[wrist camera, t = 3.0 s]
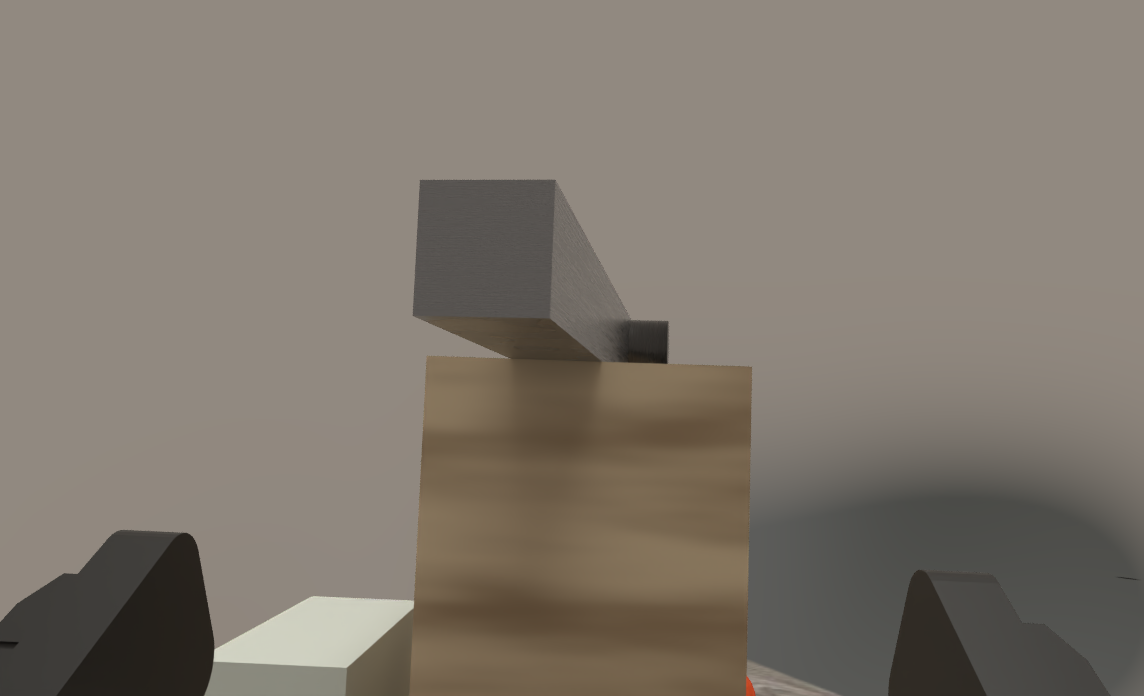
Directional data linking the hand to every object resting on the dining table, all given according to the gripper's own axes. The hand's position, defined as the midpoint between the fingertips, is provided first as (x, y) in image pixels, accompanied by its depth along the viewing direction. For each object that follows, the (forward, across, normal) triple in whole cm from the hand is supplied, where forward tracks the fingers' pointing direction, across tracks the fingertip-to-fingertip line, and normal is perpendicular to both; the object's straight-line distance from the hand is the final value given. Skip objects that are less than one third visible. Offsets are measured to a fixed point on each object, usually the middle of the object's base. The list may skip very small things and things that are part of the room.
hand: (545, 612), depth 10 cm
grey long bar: (+19, +1, +6) cm, 20 cm away
